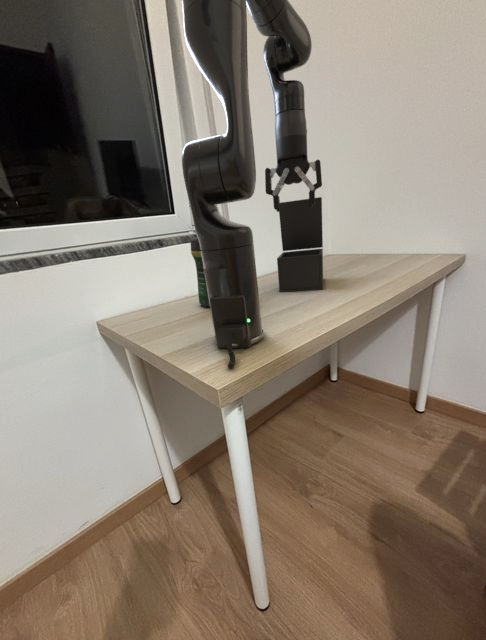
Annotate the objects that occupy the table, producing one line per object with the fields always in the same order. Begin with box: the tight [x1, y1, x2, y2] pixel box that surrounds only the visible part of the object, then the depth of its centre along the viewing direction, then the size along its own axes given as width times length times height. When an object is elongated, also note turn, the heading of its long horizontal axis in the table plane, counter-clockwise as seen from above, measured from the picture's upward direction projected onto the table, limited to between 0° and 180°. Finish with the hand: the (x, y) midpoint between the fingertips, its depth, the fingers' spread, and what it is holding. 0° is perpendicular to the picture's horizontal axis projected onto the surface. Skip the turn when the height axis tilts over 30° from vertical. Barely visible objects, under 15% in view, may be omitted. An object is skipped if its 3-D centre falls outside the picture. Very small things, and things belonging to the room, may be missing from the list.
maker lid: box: [278, 196, 324, 252], centre depth 96 cm, size 14×13×5 cm
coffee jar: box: [190, 236, 210, 308], centre depth 85 cm, size 10×8×19 cm
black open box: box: [276, 248, 324, 293], centre depth 94 cm, size 14×13×10 cm
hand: (294, 209), depth 81 cm, fingers open, 8 cm apart
